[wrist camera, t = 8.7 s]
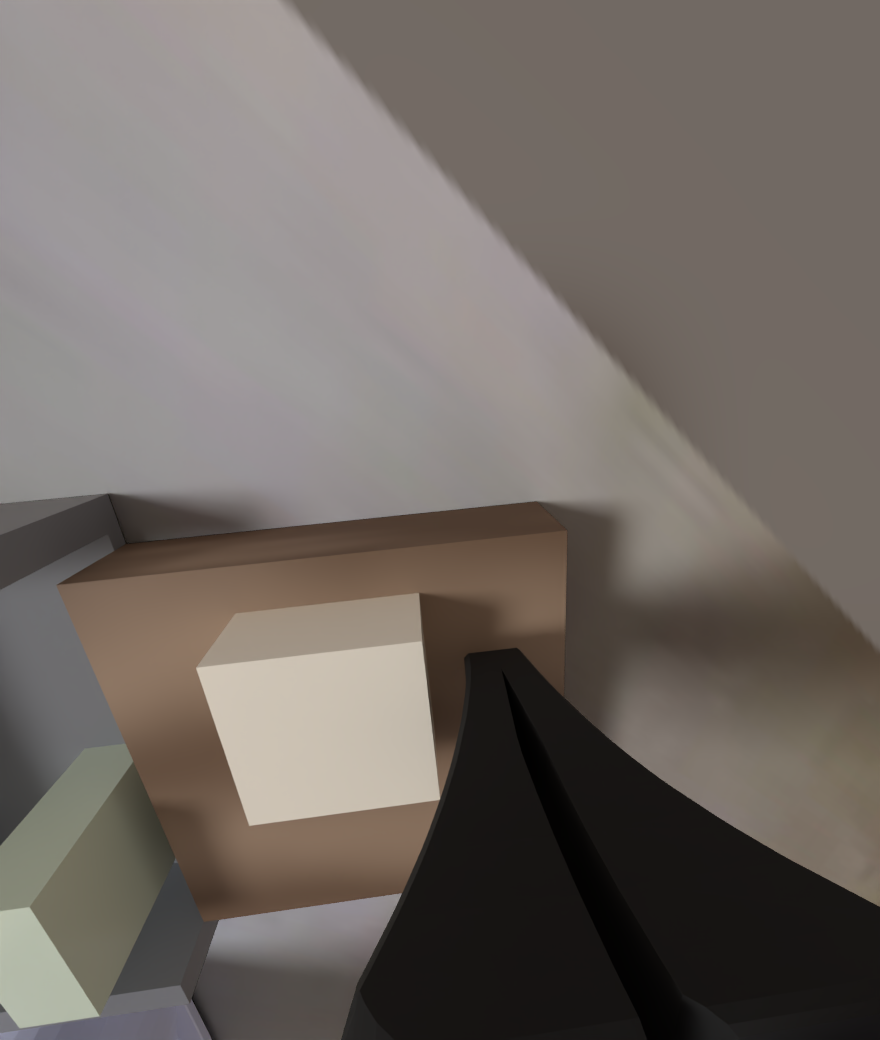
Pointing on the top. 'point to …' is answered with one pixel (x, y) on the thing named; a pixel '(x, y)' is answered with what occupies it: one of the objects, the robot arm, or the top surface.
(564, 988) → the robot arm
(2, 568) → the box
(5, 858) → the sage tile
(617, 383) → the top surface
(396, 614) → the cream tile
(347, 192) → the top surface
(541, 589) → the walnut board
